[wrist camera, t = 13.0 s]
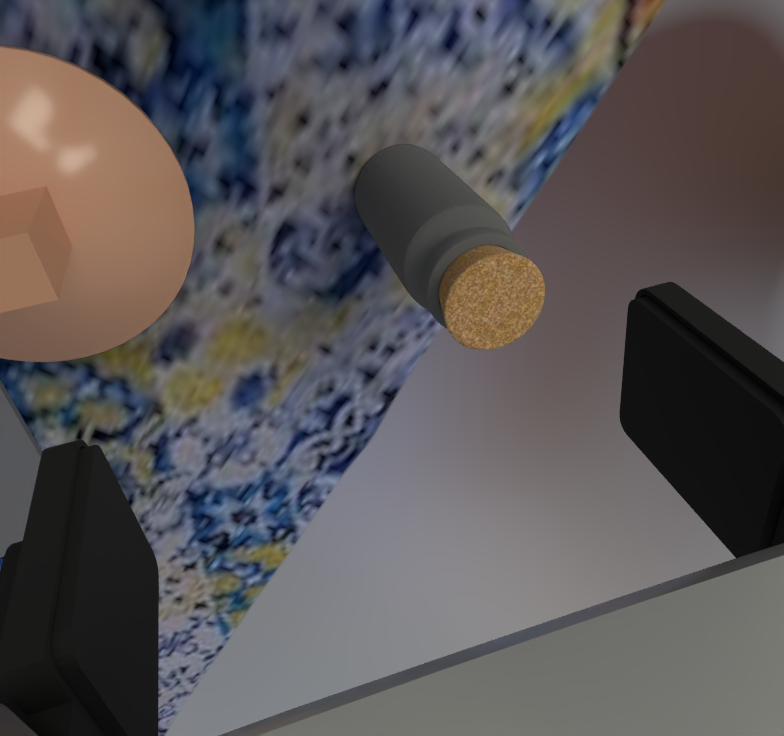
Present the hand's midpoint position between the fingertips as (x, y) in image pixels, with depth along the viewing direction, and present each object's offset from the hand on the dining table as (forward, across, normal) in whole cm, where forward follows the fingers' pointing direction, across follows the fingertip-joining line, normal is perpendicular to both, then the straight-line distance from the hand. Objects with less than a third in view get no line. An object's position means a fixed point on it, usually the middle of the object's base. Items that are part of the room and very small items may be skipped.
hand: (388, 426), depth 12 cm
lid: (+28, +12, +4) cm, 31 cm away
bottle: (+31, -8, +8) cm, 33 cm away
